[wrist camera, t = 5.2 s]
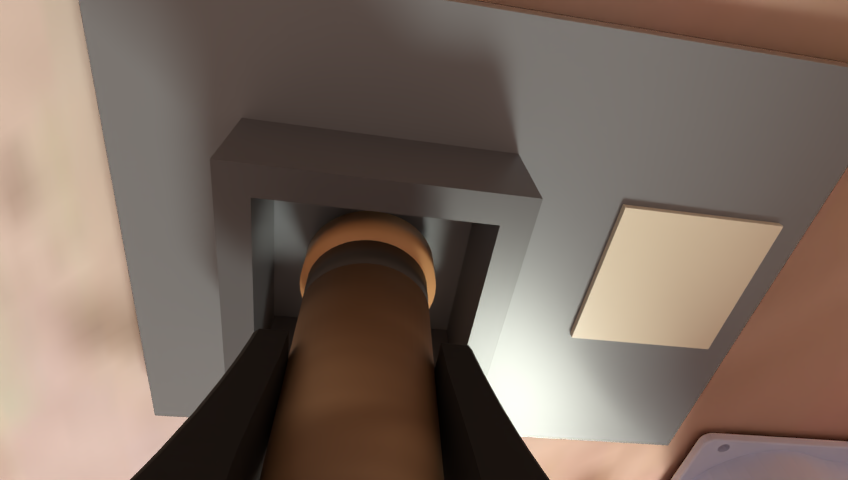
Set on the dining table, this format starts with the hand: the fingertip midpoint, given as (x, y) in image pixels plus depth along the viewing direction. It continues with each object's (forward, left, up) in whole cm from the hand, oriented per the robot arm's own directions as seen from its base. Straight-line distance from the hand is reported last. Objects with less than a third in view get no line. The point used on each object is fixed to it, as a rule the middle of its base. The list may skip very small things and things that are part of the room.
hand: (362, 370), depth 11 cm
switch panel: (-3, +1, -6) cm, 6 cm away
